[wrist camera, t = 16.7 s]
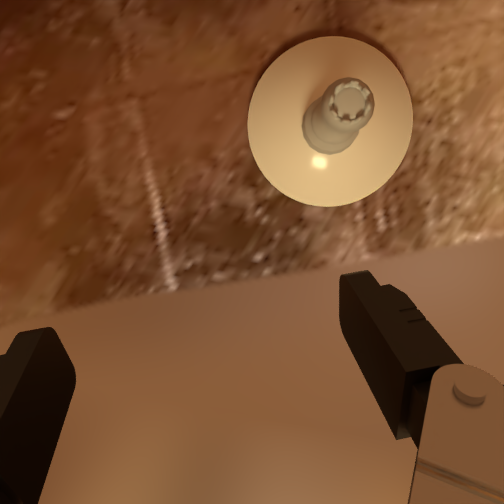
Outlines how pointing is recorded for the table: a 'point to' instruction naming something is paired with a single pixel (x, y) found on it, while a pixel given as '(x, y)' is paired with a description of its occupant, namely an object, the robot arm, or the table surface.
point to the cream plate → (297, 102)
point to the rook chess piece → (338, 116)
